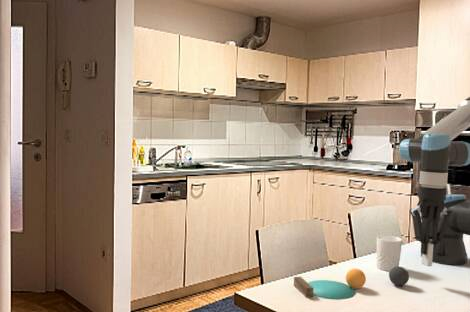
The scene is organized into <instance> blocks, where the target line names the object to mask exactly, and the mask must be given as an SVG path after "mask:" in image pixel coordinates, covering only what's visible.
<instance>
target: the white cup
mask: <svg viewBox="0 0 470 312" xmlns="http://www.w3.org/2000/svg"><path fill="white" fill-rule="evenodd" d="M402 246H403V239H402V238H401V237H397V236H394V235H377V236H376V267H377V269H379V270H381V271H386V272H390V270H391V269H392V268H394V267H397V266H399V267H400V262H401V261H400V260H401V253H402Z"/></svg>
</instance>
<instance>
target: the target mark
mask: <svg viewBox="0 0 470 312" xmlns="http://www.w3.org/2000/svg"><path fill="white" fill-rule="evenodd" d="M307 283H308V284H310V285H311V286H312V287H313V296H315V297H319V298H324V299H330V300H343V299H349V298H351V297H352V298H353V296H355V294H356V290H355V288H352V287H350V286H349V285H348V283H343V282H340V281H335V280H326V279H319V280H312V281H308V282H307Z"/></svg>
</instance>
